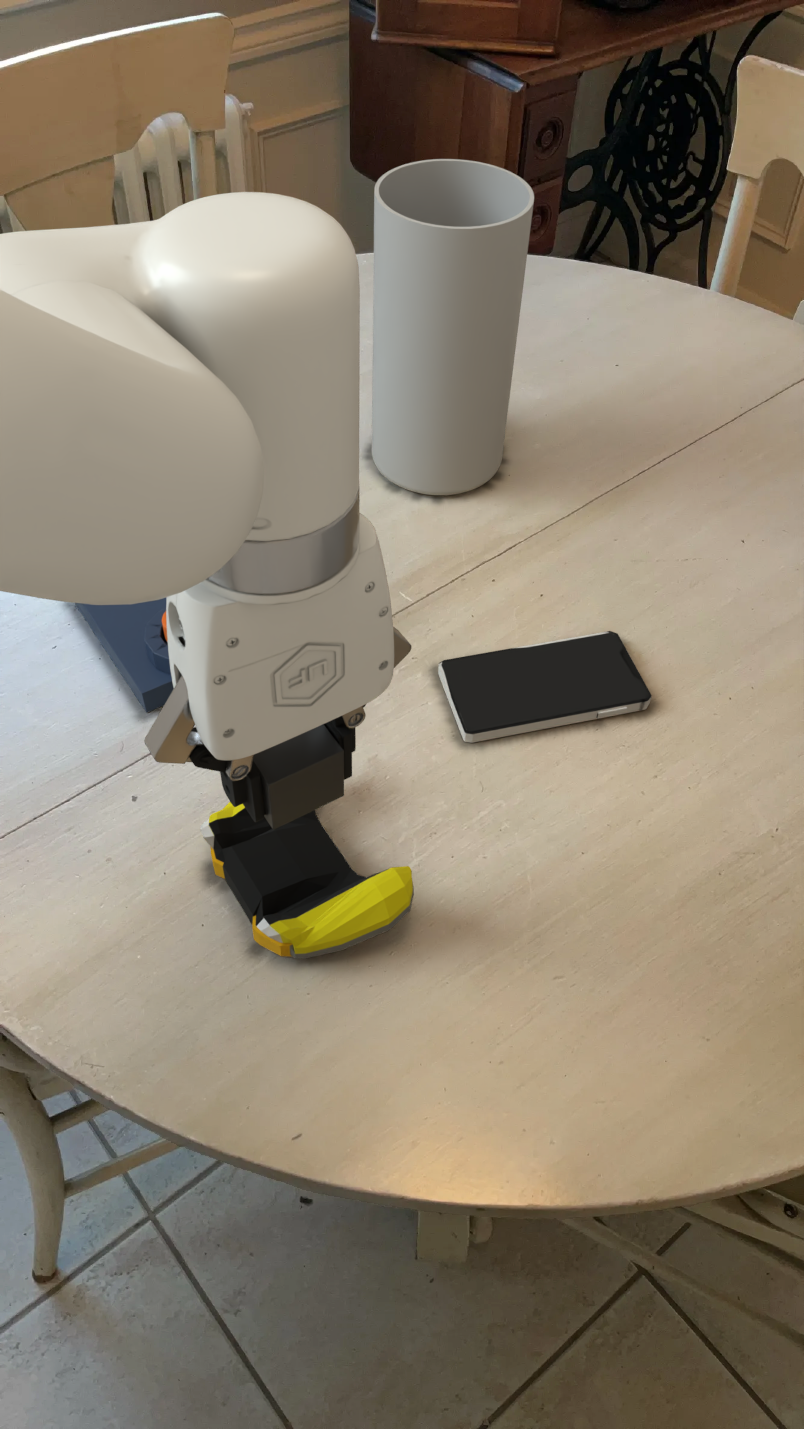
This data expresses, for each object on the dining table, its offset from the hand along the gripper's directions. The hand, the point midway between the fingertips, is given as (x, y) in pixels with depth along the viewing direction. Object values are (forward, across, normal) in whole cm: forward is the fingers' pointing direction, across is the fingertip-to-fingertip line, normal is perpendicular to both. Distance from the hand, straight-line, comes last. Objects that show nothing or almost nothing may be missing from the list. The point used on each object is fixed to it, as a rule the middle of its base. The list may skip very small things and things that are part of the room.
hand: (290, 779), depth 58 cm
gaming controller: (+15, +1, +2) cm, 15 cm away
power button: (+11, +3, +24) cm, 26 cm away
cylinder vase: (+15, +35, +37) cm, 53 cm away
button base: (+14, +3, +28) cm, 32 cm away
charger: (0, 0, 0) cm, 0 cm away
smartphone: (+15, +26, +8) cm, 30 cm away
